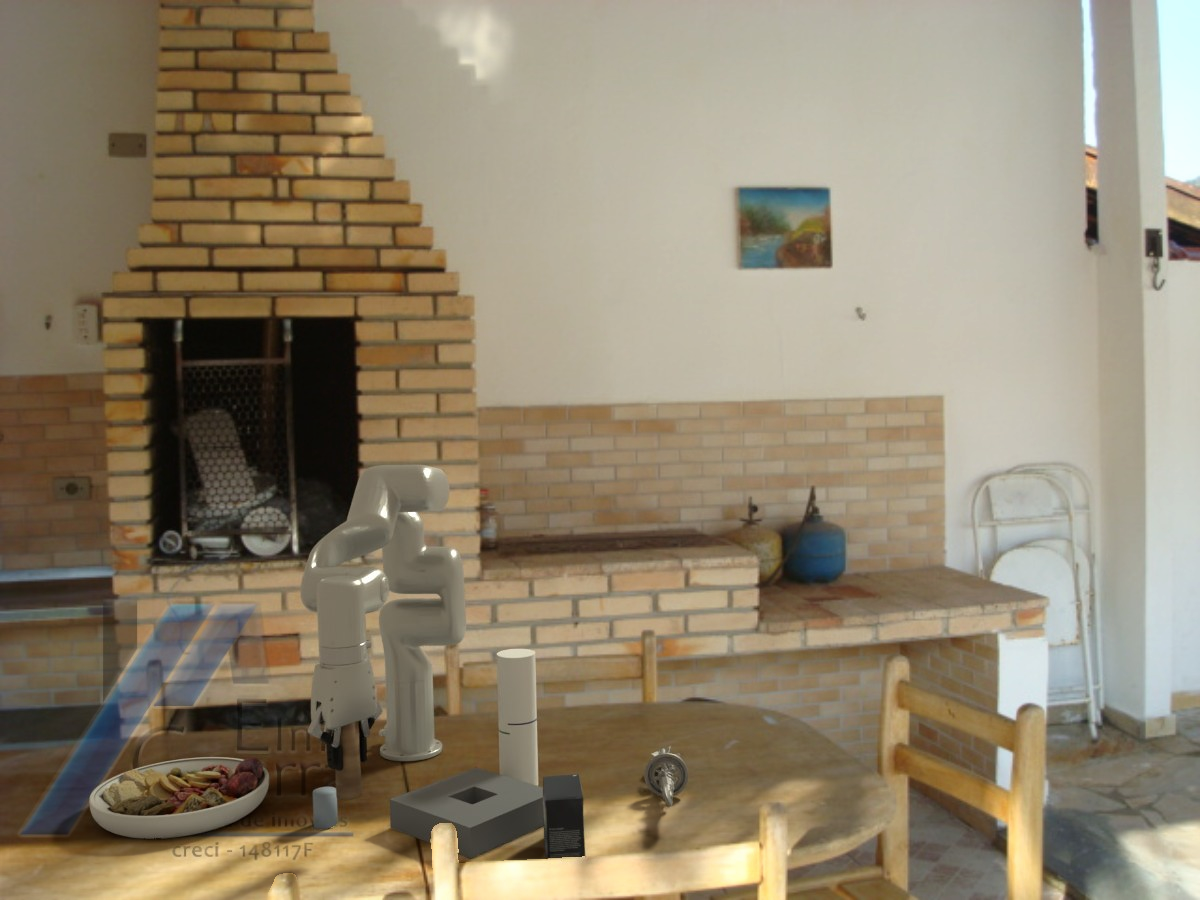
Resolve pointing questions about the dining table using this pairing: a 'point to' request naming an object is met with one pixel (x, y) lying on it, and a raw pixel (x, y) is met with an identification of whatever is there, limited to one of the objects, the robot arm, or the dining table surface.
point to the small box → (563, 816)
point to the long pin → (349, 764)
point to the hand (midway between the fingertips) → (347, 763)
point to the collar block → (471, 810)
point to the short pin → (325, 807)
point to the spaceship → (666, 774)
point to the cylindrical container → (517, 714)
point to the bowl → (179, 797)
